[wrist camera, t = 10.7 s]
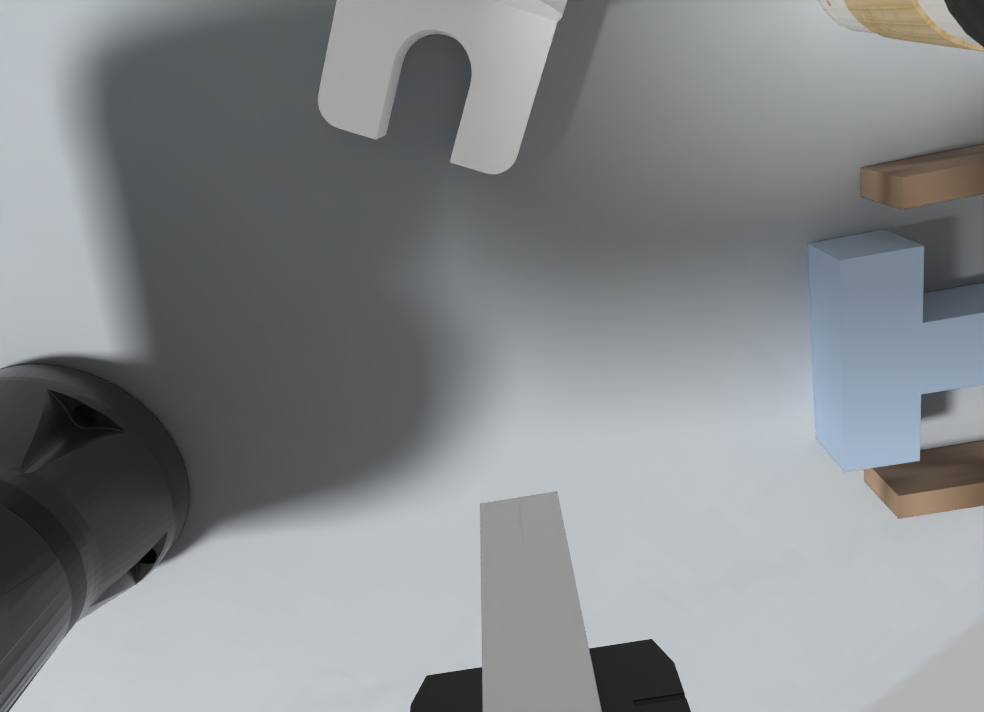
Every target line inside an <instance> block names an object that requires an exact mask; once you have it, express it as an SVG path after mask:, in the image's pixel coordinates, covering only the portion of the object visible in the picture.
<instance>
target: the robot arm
mask: <svg viewBox="0 0 984 712" xmlns="http://www.w3.org/2000/svg"><path fill="white" fill-rule="evenodd" d="M188 505H189V486H188V479H187V474H186V470H185V466H184V464H183V461H182V458H181V456H180V453H179V451H178V449H177V447H176V445H175V444H174V442H173V440H172V439H171V437H170V435H169V434H168V432H167V431H166V430H165V428H164V427H163V426H162V425H161V423H160V422H159V421H158V420H157V419H156V418H155V417H154V415H153V414H152V413H151V412H150V411H149V410H147V409H146V408H145V407H144V406H143V405H142V404H141V403H140V402H138V401H137V400H136V399H135V398H133V397H132V396H130V395H129V394H128V393H126V392H125V391H123V390H121V389H120V388H118V387H116V386H115V385H113V384H111V383H109V382H107V381H105V380H103V379H101V378H98V377H96V376H93V375H91V374H88V373H85V372H82V371H79V370H75V369H71V368H66V367H61V366H54V365H43V364H30V365H19V366H12V367H8V368H3V369H0V712H9V710H10V709H11V708H12V706H13V705H14V704H15V702H16V701H17V700H18V698H19V697H20V696H21V694H22V693H23V692H24V690H25V689H26V688H27V686H28V685H29V684H30V682H31V681H32V680H33V678H34V677H35V676H36V674H37V673H38V672H39V670H40V669H41V668H42V666H43V665H44V664H45V662H46V661H47V660H48V658H49V657H50V656H51V654H52V653H53V652H54V650H55V649H56V648H57V646H58V645H59V644H60V642H61V641H62V639H63V638H64V637H65V636H66V634H67V633H68V632H69V631H70V629H71V628H72V627H73V625H74V624H75V623H76V622H77V621H79V620H80V619H82V618H84V617H85V616H87V615H88V614H90V613H92V612H93V611H95V610H96V609H98V608H99V607H101V606H103V605H104V604H106V603H107V602H109V601H110V600H112V599H114V598H115V597H117V596H118V595H120V594H122V593H123V592H125V591H126V590H128V589H129V588H131V587H133V586H134V585H136V584H137V583H139V582H140V581H141V580H142V579H144V578H145V577H146V576H147V575H148V574H149V573H150V572H151V571H153V570H154V568H155V567H156V566H157V565H158V564H159V563H160V561H161V560H162V559H163V557H164V556H165V555H166V553H167V552H168V550H169V549H170V547H171V546H172V545H173V543H174V542H175V540H176V539H177V537H178V536H179V534H180V532H181V530H182V528H183V525H184V522H185V519H186V516H187V511H188ZM480 543H481V616H482V667H480V668H474V669H467V670H460V671H454V672H447V673H441V674H434V675H428V676H426V678H425V680H424V682H423V683H422V685H421V687H420V689H419V691H418V693H417V694H416V696H415V698H414V700H413V702H412V704H411V709H410V712H691V711H690V708H689V705H688V702H687V699H686V698H685V694H684V691H683V688H682V685H681V682H680V679H679V676H678V673H677V670H676V667H675V664H674V662H673V661H672V660H671V659H670V658H669V657H668V656H667V655H666V654H665V653H664V652H663V651H662V650H661V648H660V647H659V646H658V645H657V644H656V643H655V642H654V641H653V640H652V639H649V640H642V641H636V642H629V643H623V644H616V645H610V646H603V647H597V648H590V649H589V647H588V642H587V637H586V632H585V627H584V622H583V617H582V612H581V607H580V602H579V597H578V592H577V587H576V582H575V577H574V572H573V568H572V563H571V558H570V553H569V548H568V543H567V538H566V533H565V528H564V523H563V518H562V513H561V508H560V503H559V498H558V493H557V491H556V492H550V493H543V494H537V495H531V496H525V497H519V498H513V499H507V500H500V501H494V502H488V503H482V504H480Z"/></svg>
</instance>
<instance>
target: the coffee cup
mask: <svg viewBox="0 0 984 712" xmlns="http://www.w3.org/2000/svg"><path fill="white" fill-rule="evenodd" d="M819 1H820V3H821V5H822V7H823V9H824V10H825V11H826V12H827V13H828V15H829V16H830V17H831V18H832V19H833V20H835V21H836V22H837V23H839V24H840V25H842V26H844V27H846V28H849V29H851V30H856V31H861V32H868V33H877V34H879V35H881V36H883V37H888V38H893V39H899V40H905V41H913V42H920V43H927V44H934V45H941V46H948V47H955V48H962V49H969V50H977V51H984V0H819Z"/></svg>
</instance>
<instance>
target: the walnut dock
mask: <svg viewBox="0 0 984 712" xmlns="http://www.w3.org/2000/svg"><path fill="white" fill-rule="evenodd" d="M980 194H984V144H982V145H977V146H971V147H966V148H961V149H956V150H951V151H946V152H940V153H935V154H930V155H925V156H920V157H914V158H909V159H904V160H899V161H894V162H888V163H883V164H878V165H873V166H868V167H863V168H861V197H864V198H867V199H870V200H873V201H876V202H879V203H883V204H886V205H889V206H892V207H895V208H898V209H906V208H911V207H916V206H922V205H927V204H932V203H938V202H943V201H948V200H954V199H959V198H964V197H970V196H975V195H980ZM864 482H865V483H866V484H867V485H868V486H869V487H870V488H871V489H872V490H873V491H874V492H875V494H876V495H877V496H878V497H879V498H880V499H881V500H882V501H883V502H884V503H885V504H886V506H887V507H888V508H889V509H890V510H891V511H892V512H893V513H894V514H895V515H896V516H897V518H898V519H900V518H906V517H913V516H919V515H925V514H932V513H938V512H945V511H951V510H957V509H964V508H970V507H977V506H983V505H984V441H978V442H972V443H966V444H960V445H954V446H948V447H942V448H935V449H929V450H923V451H920V461H915V462H908V463H902V464H895V465H889V466H882V467H876V468H869V469H864Z"/></svg>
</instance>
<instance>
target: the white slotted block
mask: <svg viewBox="0 0 984 712" xmlns="http://www.w3.org/2000/svg"><path fill="white" fill-rule="evenodd" d="M566 3H567V0H337V1H336V6H335V11H334V17H333V22H332V27H331V32H330V37H329V42H328V47H327V52H326V57H325V62H324V67H323V72H322V78H321V83H320V88H319V93H318V106H319V110H320V112H321V114H322V116H323V117H324V119H325V120H326V121H327V122H328V123H329V124H331V125H332V126H334V127H336V128H339V129H342V130H345V131H349V132H352V133H355V134H358V135H362V136H365V137H368V138H372V139H375V140H376V139H378V138H380V137H383V136H385V135H386V133H387V129H388V124H389V120H390V116H391V111H392V107H393V103H394V99H395V94H396V90H397V86H398V81H399V77H400V73H401V69H402V64H403V61H404V58H405V55H406V53H407V51H408V50H409V49H410V47H411V46H412V44H414V43H415V42H416V41H417V40H419V39H420V38H422V37H425V36H427V35H432V34H442V35H448V36H450V37H452V38H454V39H456V40H457V41H458V42H460V43H461V44H462V46H463V47H464V49H465V50H466V52H467V54H468V57H469V59H470V62H471V70H472V76H471V84H470V88H469V92H468V95H467V99H466V103H465V107H464V110H463V114H462V118H461V121H460V125H459V129H458V133H457V136H456V140H455V144H454V148H453V151H452V155H451V159H450V163H454V164H457V165H460V166H463V167H467V168H470V169H473V170H477V171H480V172H483V173H487V174H500V173H502V172H505V171H506V170H508V169H509V168H510V167H511V166H512V165H513V164H514V162H515V160H516V158H517V156H518V152H519V149H520V146H521V142H522V139H523V136H524V132H525V129H526V126H527V122H528V119H529V116H530V112H531V109H532V106H533V102H534V99H535V96H536V92H537V89H538V86H539V82H540V79H541V76H542V72H543V69H544V66H545V62H546V59H547V56H548V52H549V49H550V45H551V42H552V39H553V35H554V32H555V29H556V25H557V22H558V21H559V20H560V19H561V18H562V16H563V13H564V10H565V6H566Z"/></svg>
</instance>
